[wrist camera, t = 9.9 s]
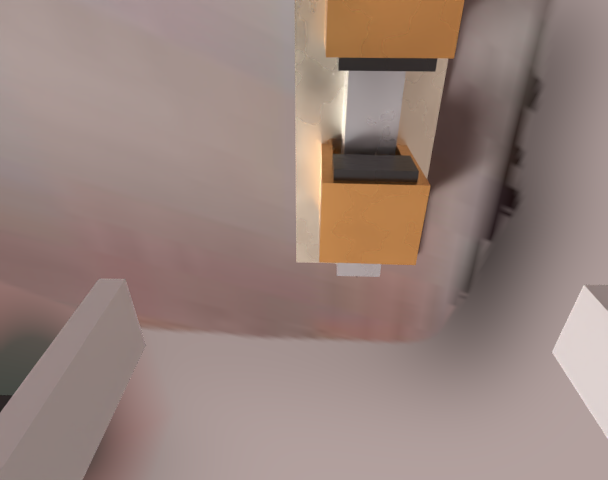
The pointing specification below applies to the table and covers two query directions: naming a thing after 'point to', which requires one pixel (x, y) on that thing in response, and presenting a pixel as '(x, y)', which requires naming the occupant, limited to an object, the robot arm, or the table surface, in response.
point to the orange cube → (371, 207)
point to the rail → (365, 91)
